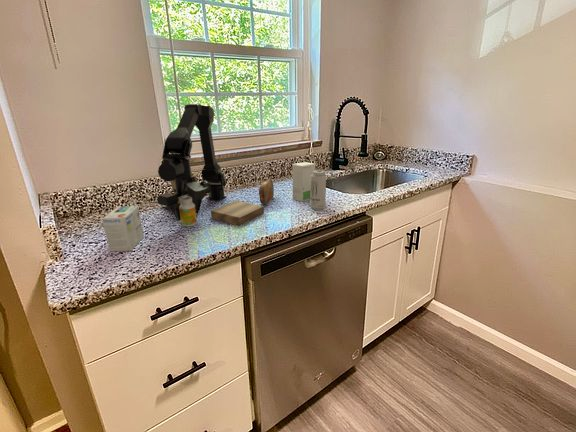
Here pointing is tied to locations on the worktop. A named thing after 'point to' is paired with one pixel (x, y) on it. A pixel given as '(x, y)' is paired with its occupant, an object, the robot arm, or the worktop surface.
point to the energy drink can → (317, 190)
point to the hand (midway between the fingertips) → (188, 217)
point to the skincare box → (302, 180)
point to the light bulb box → (123, 228)
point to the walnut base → (237, 212)
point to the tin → (266, 192)
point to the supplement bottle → (187, 211)
